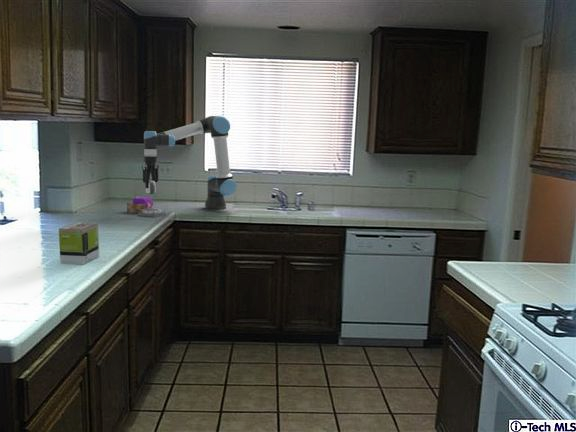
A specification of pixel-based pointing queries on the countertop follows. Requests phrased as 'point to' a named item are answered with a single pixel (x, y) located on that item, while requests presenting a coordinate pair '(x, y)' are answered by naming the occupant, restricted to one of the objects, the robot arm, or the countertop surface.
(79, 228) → the tea box
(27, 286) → the countertop surface
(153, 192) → the lens
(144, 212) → the mount
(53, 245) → the countertop surface
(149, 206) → the toy camera
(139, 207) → the stop bar
